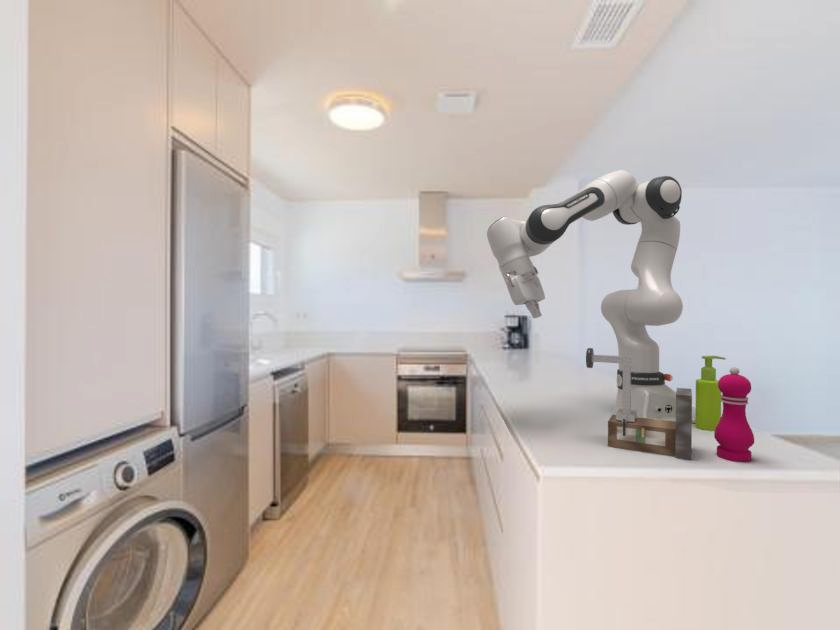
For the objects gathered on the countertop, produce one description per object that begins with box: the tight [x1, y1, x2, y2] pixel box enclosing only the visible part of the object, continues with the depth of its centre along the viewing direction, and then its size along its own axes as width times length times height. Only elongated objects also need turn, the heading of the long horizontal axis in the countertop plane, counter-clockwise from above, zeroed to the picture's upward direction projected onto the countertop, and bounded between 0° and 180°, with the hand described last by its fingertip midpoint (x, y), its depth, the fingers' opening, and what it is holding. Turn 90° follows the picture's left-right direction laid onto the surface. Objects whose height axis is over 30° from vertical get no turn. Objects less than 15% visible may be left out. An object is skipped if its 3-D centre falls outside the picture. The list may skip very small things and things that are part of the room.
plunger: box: [585, 347, 637, 436], centre depth 107 cm, size 11×8×20 cm
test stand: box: [607, 387, 693, 461], centre depth 103 cm, size 17×10×14 cm, turn 59°
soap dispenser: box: [694, 355, 727, 432], centre depth 121 cm, size 6×7×20 cm
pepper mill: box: [714, 366, 755, 463], centre depth 97 cm, size 7×7×20 cm
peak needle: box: [641, 428, 645, 437], centre depth 100 cm, size 1×1×2 cm, turn 59°
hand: (537, 317), depth 121 cm, fingers closed
